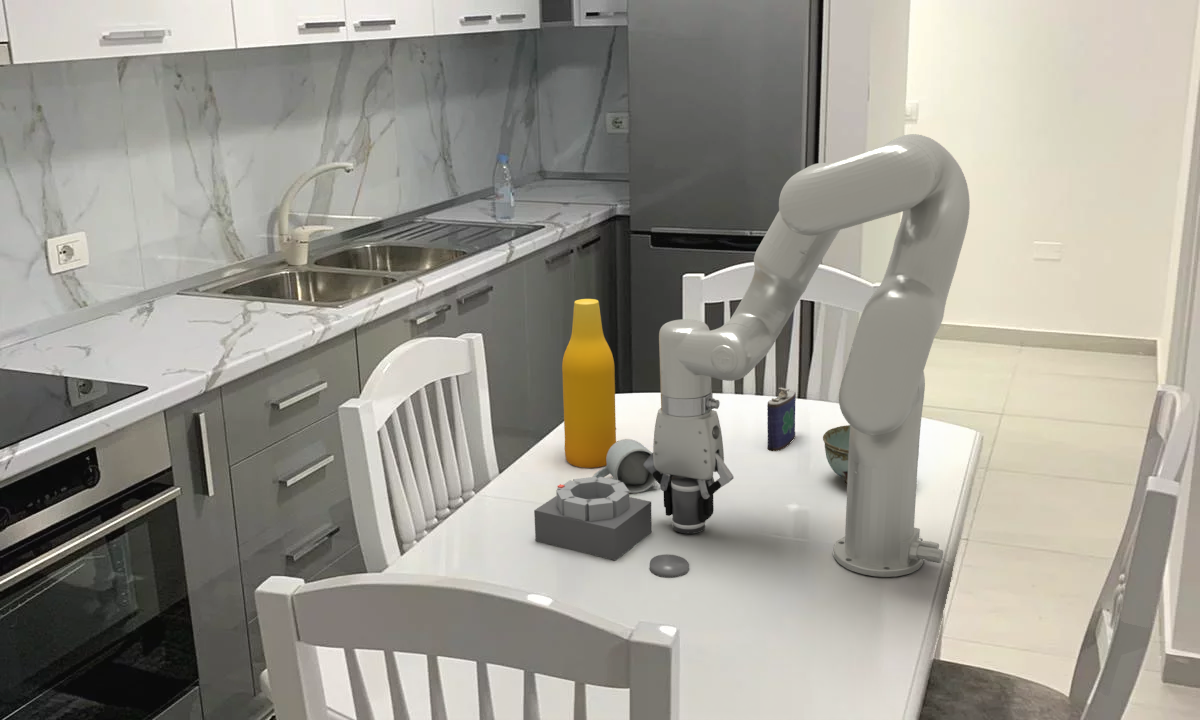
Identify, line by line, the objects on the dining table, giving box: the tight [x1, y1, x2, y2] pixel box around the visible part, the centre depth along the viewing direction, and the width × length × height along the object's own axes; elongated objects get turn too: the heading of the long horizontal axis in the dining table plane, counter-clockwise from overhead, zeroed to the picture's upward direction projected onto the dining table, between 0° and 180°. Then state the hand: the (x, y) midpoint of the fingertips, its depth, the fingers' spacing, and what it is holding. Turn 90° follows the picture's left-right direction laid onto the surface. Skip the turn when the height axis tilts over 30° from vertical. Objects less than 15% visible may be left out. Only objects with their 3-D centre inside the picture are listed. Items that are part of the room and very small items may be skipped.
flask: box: [766, 387, 797, 452], centre depth 209 cm, size 9×3×11 cm, turn 147°
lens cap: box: [649, 553, 690, 579], centre depth 164 cm, size 6×6×1 cm
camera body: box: [533, 476, 653, 561], centre depth 174 cm, size 14×11×8 cm
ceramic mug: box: [592, 438, 657, 494], centre depth 193 cm, size 11×8×8 cm
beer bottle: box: [561, 298, 617, 469], centre depth 202 cm, size 9×9×29 cm
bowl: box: [822, 424, 850, 486], centre depth 191 cm, size 14×13×8 cm
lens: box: [671, 475, 706, 534], centre depth 176 cm, size 5×5×8 cm
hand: (688, 514), depth 176 cm, fingers closed on lens, 5 cm apart
